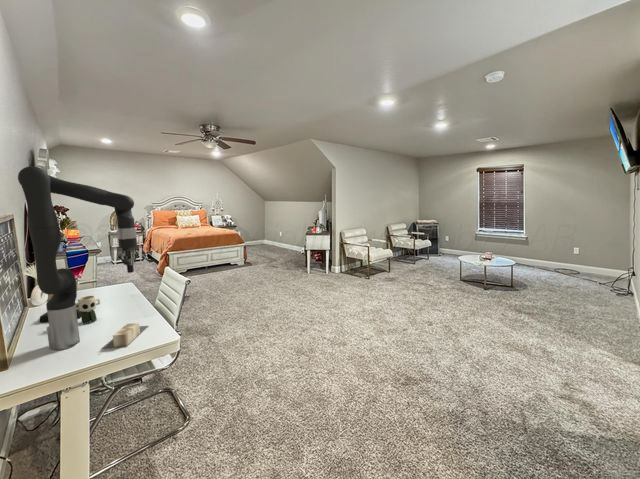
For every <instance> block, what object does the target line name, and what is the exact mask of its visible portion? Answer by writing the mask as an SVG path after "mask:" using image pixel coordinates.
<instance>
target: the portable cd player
mask: <svg viewBox="0 0 640 479" xmlns="http://www.w3.org/2000/svg"><path fill="white" fill-rule="evenodd" d="M78 307H79V305H76V308H78ZM82 312H83V311H80V310H79V309H78V310H76V313H77V320H79V319H82ZM38 322H39V324H43V323H44V324H46V323H49V321H48V314H47V311H46V312H45V313H43V314H41V315H40V316H39V321H38Z"/></svg>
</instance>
